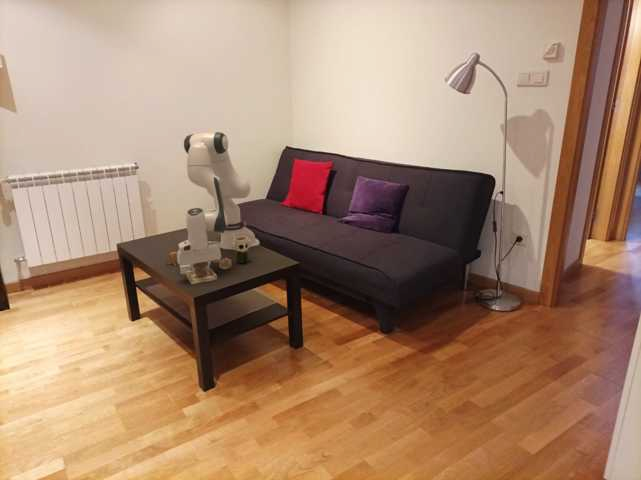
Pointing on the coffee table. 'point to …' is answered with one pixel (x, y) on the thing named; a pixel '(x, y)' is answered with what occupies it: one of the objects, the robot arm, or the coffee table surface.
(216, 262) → the pinkish tan rounded lump
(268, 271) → the coffee table surface
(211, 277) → the birch tray
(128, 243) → the coffee table surface
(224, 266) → the oak block
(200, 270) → the walnut block
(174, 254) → the lion figurine
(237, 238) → the character mug
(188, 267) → the white plastic block
